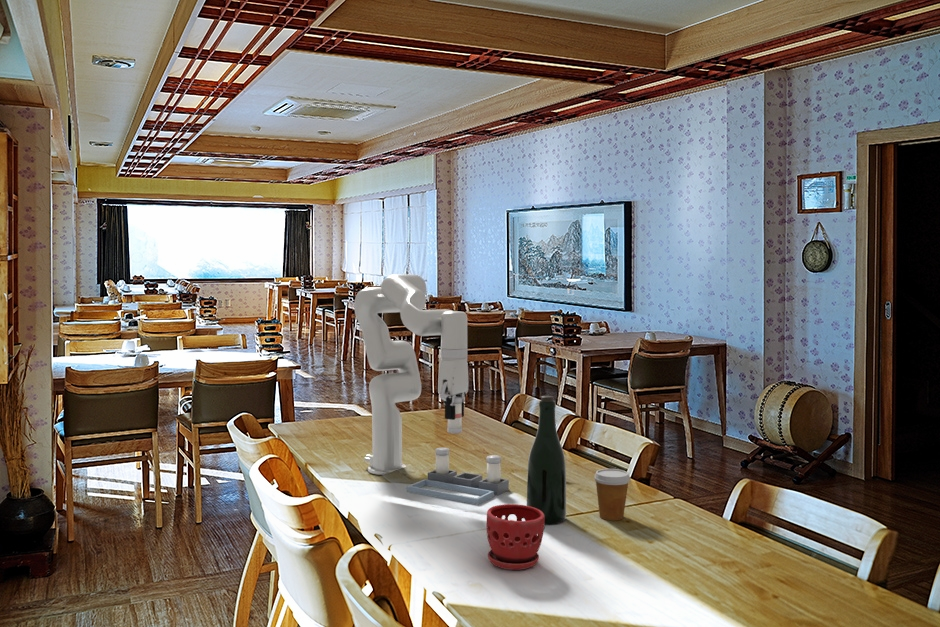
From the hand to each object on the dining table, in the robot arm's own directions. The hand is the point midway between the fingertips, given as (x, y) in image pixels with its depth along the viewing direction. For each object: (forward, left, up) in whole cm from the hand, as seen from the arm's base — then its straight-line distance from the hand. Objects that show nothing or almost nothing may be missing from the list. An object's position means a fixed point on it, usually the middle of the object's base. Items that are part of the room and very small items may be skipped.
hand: (454, 417), depth 234 cm
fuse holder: (0, +7, -23) cm, 25 cm away
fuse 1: (-9, +7, -22) cm, 25 cm away
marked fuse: (0, 0, -4) cm, 4 cm away
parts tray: (0, -2, -23) cm, 24 cm away
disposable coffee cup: (+45, +7, -24) cm, 52 cm away
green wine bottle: (+31, -4, -24) cm, 39 cm away
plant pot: (+39, -36, -24) cm, 58 cm away
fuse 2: (+9, +7, -22) cm, 25 cm away
